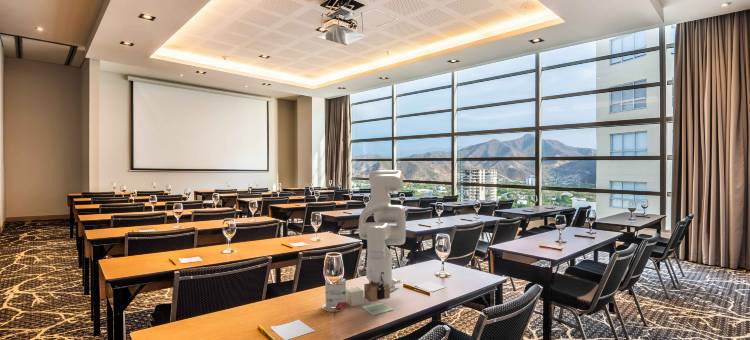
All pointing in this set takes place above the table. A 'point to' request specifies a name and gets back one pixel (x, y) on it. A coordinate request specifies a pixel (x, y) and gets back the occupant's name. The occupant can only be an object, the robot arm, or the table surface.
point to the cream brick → (354, 296)
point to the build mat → (377, 308)
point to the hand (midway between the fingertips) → (376, 295)
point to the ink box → (336, 294)
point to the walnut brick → (375, 291)
